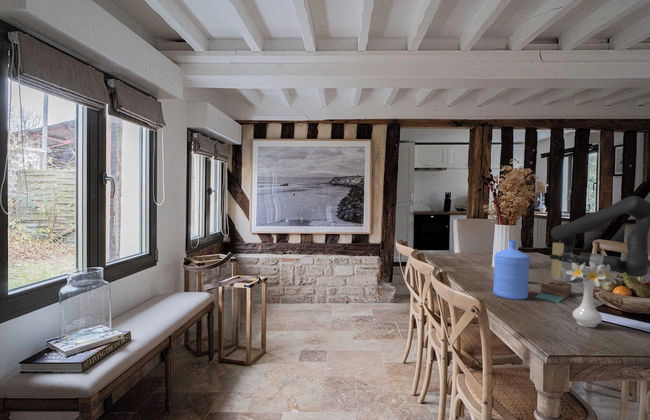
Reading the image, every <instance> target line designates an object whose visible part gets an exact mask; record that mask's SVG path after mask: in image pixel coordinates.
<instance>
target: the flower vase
mask: <svg viewBox="0 0 650 420" xmlns="http://www.w3.org/2000/svg"><path fill="white" fill-rule="evenodd" d="M589 264H590V267H591V268H590V267H588V266H585V262H584V263H583V264H582V265H580V266H579V265H577V263H572V270H568V271H566V270H565V269H564V268H563V267H562V266H561V265H560V266H561V269H562V270H561V273H562V275H564V276H563V282H562V283H565V282H564V281H565V279H566V277H567V276H568V274H569V275H571V281H574V280H575V279H577V277H579V278H582V283H583V293H582V294H583V295H582V301H581V302H580V304H579V306H578V307H576V308H575V309H574V310H573V311H572V317H573V319H575V321H576V323H577V324H578V325H580V326H583V327H584V328H585V327H586V328H596V327H597V325H599V324H600V323H602V321H603V317H602V315H601V313H600V312H599V311H598V310H597V309H596V307H595V304H594V287H600V286H601V285H600V284H601V283H600V281H599V280H605V279H606V280H607V281H611V282H612V283H614V284H615V285H617V281H616V279H615V278H616V277H617V276H618V272H615V271H610V265H609V264H608V265H607V266H605V265H600V266H598V267H596V265H595V264H594V263H593V262H590V263H589ZM605 268H606V269H605Z"/></svg>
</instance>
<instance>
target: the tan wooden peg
mask: <svg viewBox="0 0 650 420" xmlns="http://www.w3.org/2000/svg"><path fill="white" fill-rule="evenodd" d="M563 250H564V243H560V242H552V253H551V254H553V255H562V256H563ZM562 259H563V258H562ZM560 265H561V266H562V267H563V261H559V260H557V259H551V267H550V268H551V270H550V278H557V279H561V278H562V273H561V270H562V269H561V266H560Z"/></svg>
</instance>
